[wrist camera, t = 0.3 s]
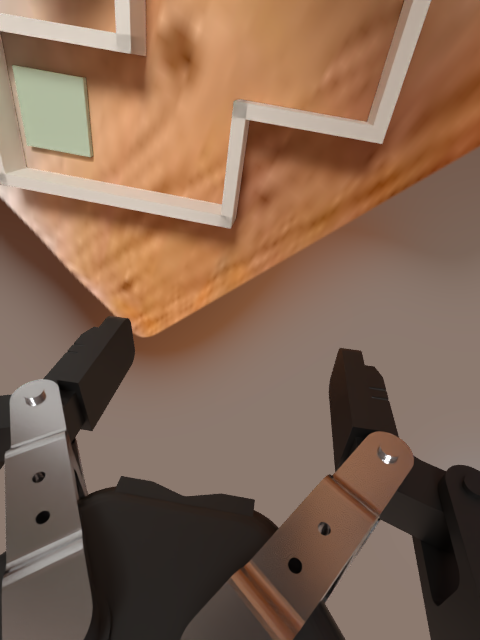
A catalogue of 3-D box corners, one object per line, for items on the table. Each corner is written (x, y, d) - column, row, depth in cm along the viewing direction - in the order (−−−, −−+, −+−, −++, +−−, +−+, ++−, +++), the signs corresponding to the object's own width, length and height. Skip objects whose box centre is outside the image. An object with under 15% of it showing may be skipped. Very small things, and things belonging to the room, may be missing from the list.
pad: (16, 65, 34) (11, 65, 33) (85, 77, 34) (82, 77, 33) (30, 144, 38) (27, 145, 38) (93, 156, 38) (90, 157, 37)
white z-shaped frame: (-54, -165, 26) (-97, -195, 23) (448, -87, 25) (468, -108, 22) (18, 176, 40) (-3, 183, 37) (342, 238, 39) (345, 250, 36)
